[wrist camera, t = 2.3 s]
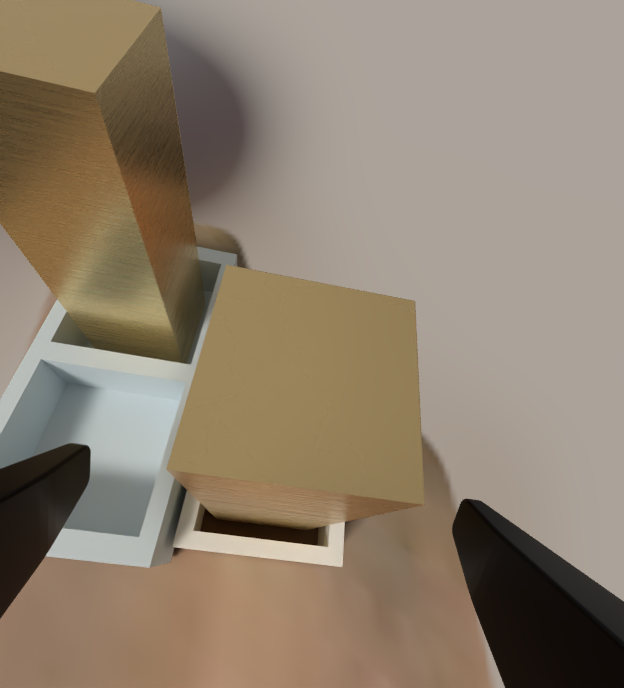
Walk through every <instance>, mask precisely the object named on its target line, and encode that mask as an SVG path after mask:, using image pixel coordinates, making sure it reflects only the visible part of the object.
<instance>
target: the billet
mask: <svg viewBox="0 0 624 688" xmlns="http://www.w3.org/2000/svg"><path fill="white" fill-rule="evenodd" d="M417 354H418V353H417V333H416V311H415V301H412V300H406V299H402V298H396V297H391V296H386V295H381V294H375V293H370V292H365V291H360V290H355V289H350V288H344V287H339V286H334V285H329V284H324V283H319V282H313V281H308V280H303V279H298V278H292V277H287V276H282V275H277V274H271V273H267V272H261V271H256V270H251V269H246V268H241V267H235V266H230V265H226V267H225V271H224V274H223V278H222V281H221V284H220V288H219V291H218V295H217V298H216V301H215V305H214V308H213V312H212V315H211V318H210V322H209V325H208V329H207V332H206V335H205V339H204V342H203V346H202V349H201V352H200V356H199V359H198V363H197V366H196V369H195V373H194V376H193V380H192V383H191V387H190V390H189V393H188V397H187V400H186V404H185V407H184V410H183V414H182V417H181V421H180V424H179V427H178V431H177V434H176V438H175V441H174V444H173V448H172V451H171V455H170V458H169V461H168V465H167V468H166V470H167V471H168V472H169V473H170V474H171V475H172V476H173V477H174V478H175V479H176V480H177V481H178V482H179V483H180V484H181V485H183V486H184V487H185V488H186V489H187V490H188V491H189V492H190V493H191V494H192V495H193V496H194V497H195V498H196V499H197V500H198V501H199V502H200V503H201V504H202V505H203V506H204V507H205V508H206V509H207V510H208V511H209V512H210V513H211V514H212V515H213V516H214V517H215V518H216V519H221V520H229V521H237V522H245V523H253V524H260V525H268V526H276V527H284V528H292V529H300V530H308V529H313V528H318V527H322V526H327V525H332V524H337V523H341V522H346V521H351V520H355V519H360V518H365V517H370V516H374V515H379V514H384V513H389V512H393V511H398V510H403V509H408V508H412V507H417V506H422V505H425V502H424V481H423V460H422V439H421V417H420V396H419V375H418V355H417Z"/></svg>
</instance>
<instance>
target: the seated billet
mask: <svg viewBox="0 0 624 688" xmlns="http://www.w3.org/2000/svg"><path fill="white" fill-rule="evenodd" d="M0 224H1V225H2V226H3V228H4V229H5V230H6V232H7V233H8V234H9V236H10V237H11V238H12V240H13V241H14V242H15V243H16V245H17V246H18V248H19V249H20V250H21V251H22V253H23V254H24V255H25V257H26V258H27V259H28V261H29V262H30V263H31V265H32V266H33V267H34V268H35V270H36V271H37V273H38V274H39V275H40V277H41V278H42V279H43V281H44V282H45V283H46V285H47V286H48V287H49V289H50V290H51V291H52V293H53V294H54V295H55V297H56V298H57V299H58V301H59V302H60V303H61V305H62V306H63V307H64V308H65V310H66V311H67V312H68V314H69V315H70V316H71V318H72V319H73V320H74V322H75V323H76V324H77V326H78V327H79V328H80V330H81V331H82V332H83V334H84V335H85V336H86V338H87V339H88V340H89V342H90V343H91V344H92V346H93V347H94V348H95V349H99V350H105V351H111V352H117V353H123V354H129V355H135V356H141V357H147V358H153V359H159V360H165V361H171V362H178V363H184V364H187V361H188V358H189V355H190V352H191V348H192V345H193V342H194V339H195V335H196V332H197V329H198V326H199V323H200V319H201V316H202V313H203V310H204V306H205V296H204V289H203V283H202V276H201V270H200V263H199V256H198V250H197V243H196V237H195V230H194V223H193V217H192V210H191V204H190V198H189V191H188V184H187V177H186V171H185V164H184V157H183V151H182V144H181V137H180V131H179V125H178V118H177V112H176V105H175V98H174V91H173V85H172V78H171V71H170V65H169V59H168V52H167V45H166V38H165V32H164V25H163V19H162V12H161V8H160V7H156V6H152V5H148V4H145V3H141V2H137V1H133V0H0Z"/></svg>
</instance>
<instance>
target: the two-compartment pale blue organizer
mask: <svg viewBox="0 0 624 688" xmlns="http://www.w3.org/2000/svg"><path fill="white" fill-rule="evenodd" d="M197 250H198V256H199V263H200V270H201V276H202V283H203V289H204V296H205V306H204V310H203V313H202V316H201V319H200V323H199V326H198V329H197V332H196V335H195V339H194V342H193V345H192V348H191V352H190V355H189V358H188V361H187V364H184V363H178V362H171V361H165V360H159V359H153V358H147V357H141V356H135V355H129V354H123V353H117V352H111V351H105V350H99V349H95V348H94V347H93V346H92V344H91V343H90V342H89V340H88V339H87V338H86V336H85V335H84V334H83V332H82V331H81V330H80V328H79V327H78V326H77V324H76V323H75V322H74V320H73V319H72V318H71V316H70V315H69V314H68V312H67V311H66V310H65V308H64V307H63V306H62V305H61V303H60V302H59V301H58V299H57V301H56V302H55V304H54V306H53V308H52V309H51V311H50V313H49V315H48V316H47V318H46V320H45V322H44V324H43V325H42V327H41V329H40V331H39V332H38V334H37V336H36V338H35V339H34V341H33V343H32V345H31V347H30V348H29V350H28V352H27V354H26V355H25V357H24V359H23V361H22V362H21V364H20V366H19V368H18V369H17V371H16V373H15V375H14V377H13V378H12V380H11V382H10V384H9V385H8V387H7V389H6V391H5V392H4V394H3V396H2V398H1V400H0V469H1V468H3V467H6V466H9V465H12V464H14V463H17V462H20V461H22V460H25V459H28V458H30V457H33V456H36V455H38V454H41V453H44V452H46V451H49V450H52V449H54V448H57V447H60V446H63V445H65V444H68V443H77V444H84V445H88V446H89V447H90V450H91V463H90V479H89V482H88V485H87V487H86V489H85V491H84V492H83V494H82V496H81V498H80V499H79V501H78V503H77V504H76V506H75V508H74V509H73V511H72V513H71V515H70V516H69V518H68V520H67V521H66V523H65V525H64V527H63V528H62V530H61V532H60V533H59V535H58V537H57V538H56V540H55V542H54V543H53V545H52V547H51V548H50V550H49V552H48V553H47V554H46V556H49V557H58V558H67V559H76V560H85V561H94V562H103V563H112V564H121V565H130V566H139V567H148V568H150V567H154V566H158V565H161V564H165V563H169V562H171V559H172V555H173V551H174V547H172V546H173V542H174V538H175V534H176V530H177V527H178V523H179V519H180V515H181V511H182V507H183V503H184V500H185V496H186V492H187V489H186V488H185V487H184V486H183V485H181V484H180V483H179V482H178V481H177V480H176V479H175V478H174V477H173V476H172V475H171V474H170V473H169V472H168V471H167V470H166V468H167V465H168V461H169V458H170V455H171V451H172V448H173V444H174V441H175V438H176V434H177V431H178V427H179V424H180V421H181V417H182V414H183V410H184V407H185V404H186V400H187V397H188V393H189V390H190V387H191V383H192V380H193V376H194V373H195V369H196V366H197V363H198V359H199V356H200V352H201V349H202V346H203V342H204V339H205V335H206V332H207V329H208V325H209V322H210V318H211V315H212V312H213V308H214V305H215V301H216V298H217V295H218V291H219V288H220V284H221V281H222V278H223V274H224V271H225V267H226V265H230V266H235V267H237V254H233V253H227V252H222V251H217V250H212V249H207V248H202V247H197Z"/></svg>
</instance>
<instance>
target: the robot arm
mask: <svg viewBox="0 0 624 688" xmlns="http://www.w3.org/2000/svg"><path fill="white" fill-rule="evenodd" d="M90 463H91V450H90V447H89V446H88V445H84V444H77V443H68V444H65V445H63V446H60V447H57V448H54V449H52V450H49V451H46V452H44V453H41V454H38V455H36V456H33V457H30V458H28V459H25V460H22V461H20V462H17V463H14V464H12V465H9V466H6V467H3V468H1V469H0V618H1V617H2V616H3V614H4V613H5V611H6V610H7V609H8V607H9V606H10V605H11V603H12V602H13V600H14V599H15V598H16V596H17V595H18V593H19V592H20V591H21V589H22V588H23V587H24V585H25V584H26V582H27V581H28V580H29V578H30V577H31V576H32V574H33V573H34V571H35V570H36V569H37V567H38V566H39V564H40V563H41V562H42V560H43V559H44V557H45V556H46V554H47V553H48V552H49V550H50V548H51V547H52V545H53V543H54V542H55V540H56V538H57V537H58V535H59V533H60V532H61V530H62V528H63V527H64V525H65V523H66V521H67V520H68V518H69V516H70V515H71V513H72V511H73V509H74V508H75V506H76V504H77V503H78V501H79V499H80V498H81V496H82V494H83V492H84V491H85V489H86V487H87V485H88V482H89V479H90ZM452 533H453V538H454V541H455V545H456V548H457V552H458V555H459V559H460V562H461V566H462V569H463V573H464V576H465V580H466V583H467V587H468V590H469V593H470V596H471V600H472V602H473V605H474V608H475V611H476V613H477V616H478V618H479V621H480V624H481V626H482V629H483V631H484V634H485V637H486V639H487V642H488V644H489V647H490V650H491V652H492V655H493V657H494V660H495V663H496V665H497V667H498V670H499V673H500V676H501V678H502V681H503V683H504V686H505V688H624V601H622V600H621V599H619V598H618V597H616V596H615V595H614V594H612V593H610V592H609V591H608V590H607V589H605V588H604V587H602V586H601V585H599V584H598V583H597V582H595V581H593V580H592V579H591V578H589V577H588V576H587V575H585V574H584V573H582V572H581V571H580V570H578V569H577V568H575V567H574V566H572V565H571V564H570V563H568V562H566V561H565V560H564V559H562V558H561V557H560V556H558V555H557V554H555V553H554V552H552V551H551V550H550V549H548V548H547V547H546V546H544V545H543V544H541V543H540V542H538V541H537V540H536V539H534V538H533V537H531V536H530V535H529V534H527V533H526V532H524V531H523V530H521V529H520V528H519V527H517V526H516V525H514V524H513V523H511V522H510V521H509V520H507V519H506V518H504V517H503V516H501V515H500V514H499V513H497V512H496V511H494V510H493V509H492V508H490V507H489V506H487V505H486V504H485V503H483V502H482V501H479V500H472V499H464V500H463V501H462V502H461V504H460V506H459V509H458V512H457V514H456V517H455V520H454V523H453V527H452Z"/></svg>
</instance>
